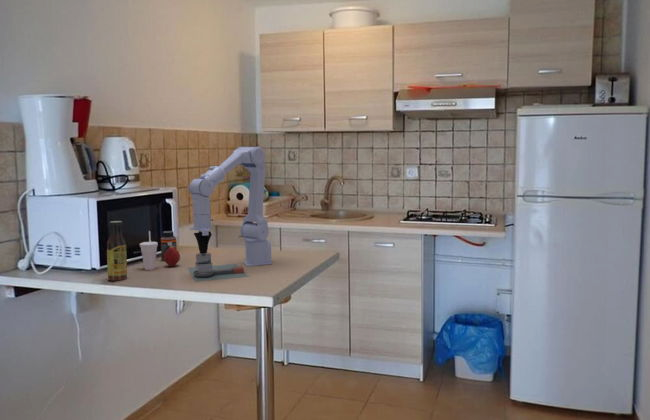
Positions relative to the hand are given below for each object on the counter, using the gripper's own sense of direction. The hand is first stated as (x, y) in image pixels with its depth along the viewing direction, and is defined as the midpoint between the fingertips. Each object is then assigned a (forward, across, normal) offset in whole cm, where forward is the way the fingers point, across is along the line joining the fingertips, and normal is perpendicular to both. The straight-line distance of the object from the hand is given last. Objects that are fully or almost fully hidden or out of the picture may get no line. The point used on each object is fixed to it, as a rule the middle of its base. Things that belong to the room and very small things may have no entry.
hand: (203, 253), depth 195 cm
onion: (+8, -20, -9) cm, 23 cm away
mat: (+8, -4, +5) cm, 10 cm away
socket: (+6, 0, 0) cm, 6 cm away
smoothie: (+8, -19, -17) cm, 27 cm away
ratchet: (+8, 0, +5) cm, 9 cm away
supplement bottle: (+8, -33, -9) cm, 35 cm away
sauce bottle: (+8, -7, -28) cm, 30 cm away
